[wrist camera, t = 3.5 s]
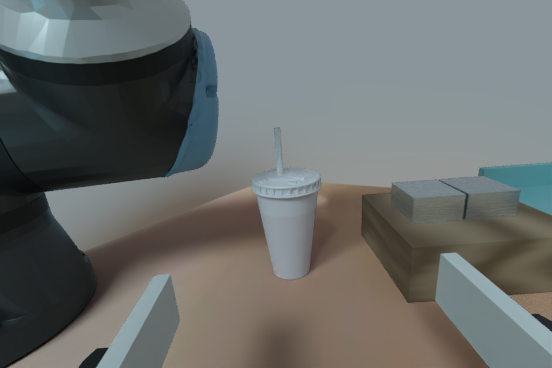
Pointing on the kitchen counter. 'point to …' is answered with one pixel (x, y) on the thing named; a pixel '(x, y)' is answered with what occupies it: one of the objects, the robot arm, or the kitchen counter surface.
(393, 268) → the olive-brown boxy piece
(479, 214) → the chip
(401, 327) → the kitchen counter surface
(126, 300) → the kitchen counter surface
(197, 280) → the kitchen counter surface
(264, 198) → the smoothie
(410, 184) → the chip
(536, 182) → the tray
